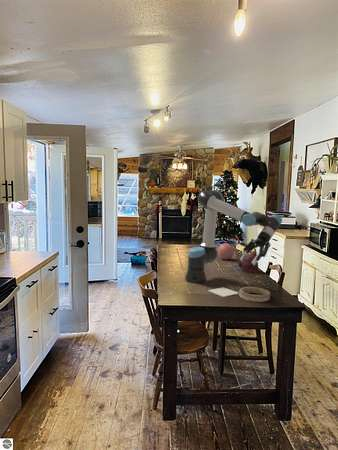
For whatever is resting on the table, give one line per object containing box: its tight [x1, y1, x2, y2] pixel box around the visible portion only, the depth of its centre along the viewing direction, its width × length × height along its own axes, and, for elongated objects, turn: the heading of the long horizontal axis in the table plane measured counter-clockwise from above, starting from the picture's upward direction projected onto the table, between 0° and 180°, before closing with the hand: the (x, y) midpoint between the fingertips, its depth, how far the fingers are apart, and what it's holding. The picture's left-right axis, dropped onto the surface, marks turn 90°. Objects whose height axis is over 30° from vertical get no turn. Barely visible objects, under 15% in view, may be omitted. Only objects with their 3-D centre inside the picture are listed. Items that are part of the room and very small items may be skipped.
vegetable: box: [241, 250, 259, 274], centre depth 208 cm, size 10×10×15 cm
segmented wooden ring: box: [238, 286, 271, 303], centre depth 209 cm, size 18×18×4 cm
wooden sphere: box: [237, 252, 252, 270], centre depth 277 cm, size 15×15×15 cm
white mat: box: [207, 286, 239, 298], centre depth 216 cm, size 14×14×1 cm
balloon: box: [217, 242, 239, 261], centre depth 319 cm, size 15×20×15 cm
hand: (247, 262), depth 206 cm, fingers closed on vegetable, 9 cm apart
